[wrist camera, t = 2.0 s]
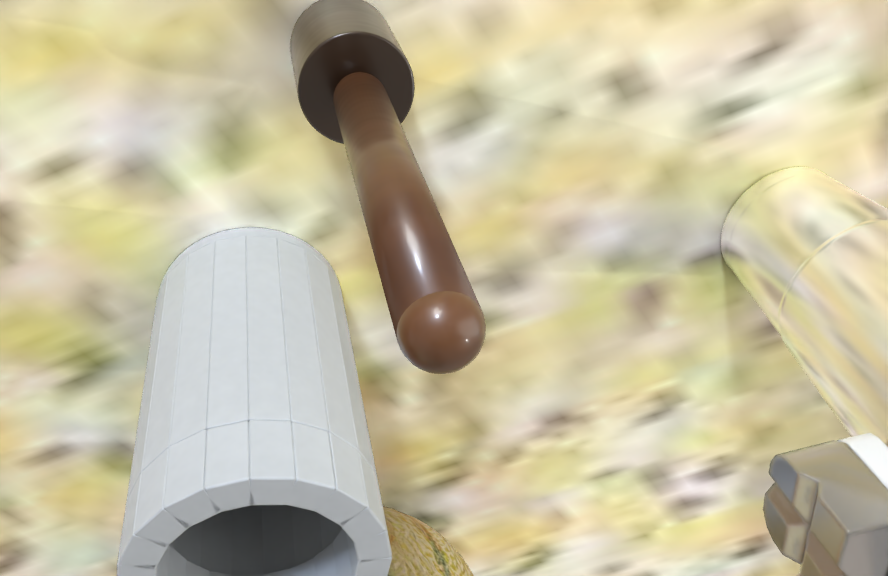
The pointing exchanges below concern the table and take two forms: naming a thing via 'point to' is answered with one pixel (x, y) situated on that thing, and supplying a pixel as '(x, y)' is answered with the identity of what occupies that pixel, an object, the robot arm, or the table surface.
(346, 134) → the brown pestle
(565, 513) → the table surface
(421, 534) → the cantaloupe
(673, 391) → the table surface
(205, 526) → the grey hollow cylinder
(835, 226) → the glass
